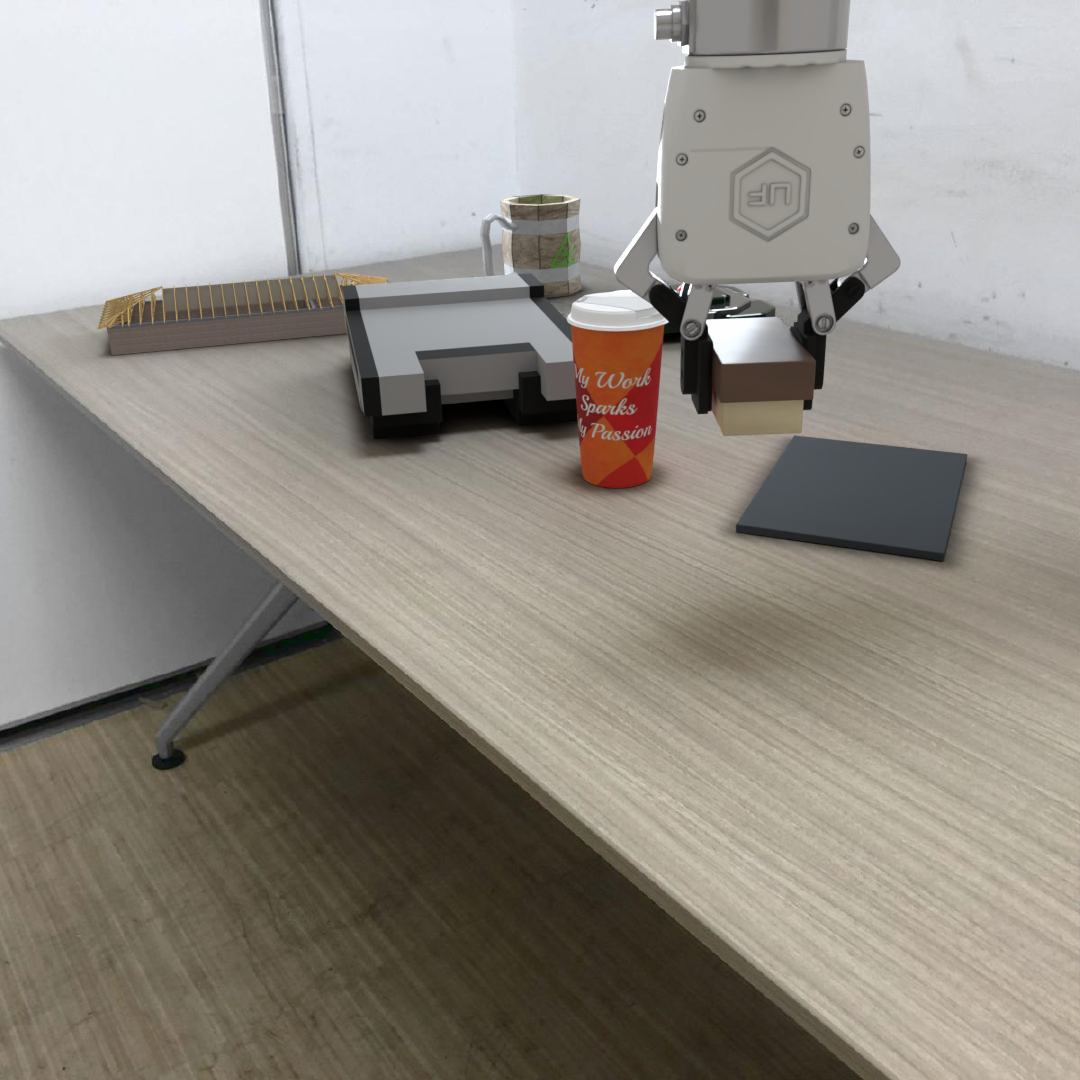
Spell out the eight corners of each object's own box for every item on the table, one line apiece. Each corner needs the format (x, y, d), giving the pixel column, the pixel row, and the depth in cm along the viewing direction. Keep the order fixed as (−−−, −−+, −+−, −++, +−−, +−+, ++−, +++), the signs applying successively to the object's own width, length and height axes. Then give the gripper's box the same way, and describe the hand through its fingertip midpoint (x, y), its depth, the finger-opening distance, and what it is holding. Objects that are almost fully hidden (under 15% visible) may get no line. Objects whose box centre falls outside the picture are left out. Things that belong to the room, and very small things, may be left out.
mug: (544, 278, 160) (542, 192, 155) (598, 288, 153) (597, 198, 148) (459, 296, 151) (454, 205, 146) (512, 308, 144) (508, 212, 139)
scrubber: (695, 388, 64) (697, 319, 62) (776, 385, 64) (779, 316, 62) (719, 441, 56) (721, 364, 54) (811, 438, 56) (816, 360, 54)
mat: (793, 441, 95) (793, 435, 95) (966, 460, 90) (967, 453, 90) (735, 531, 79) (735, 524, 78) (943, 561, 74) (944, 553, 73)
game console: (368, 458, 94) (359, 363, 91) (348, 360, 123) (341, 286, 119) (605, 435, 98) (605, 344, 94) (533, 345, 126) (531, 273, 123)
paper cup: (555, 486, 87) (551, 309, 82) (587, 454, 94) (586, 287, 88) (651, 498, 85) (654, 315, 79) (677, 464, 91) (682, 293, 85)
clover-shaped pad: (785, 333, 128) (788, 293, 127) (637, 347, 125) (637, 306, 123) (724, 301, 144) (726, 265, 142) (591, 312, 141) (591, 275, 139)
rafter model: (388, 304, 148) (384, 257, 145) (407, 329, 135) (403, 278, 132) (110, 329, 139) (101, 279, 137) (103, 357, 127) (92, 304, 124)
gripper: (588, 40, 49) (595, 434, 56) (975, 23, 49) (930, 421, 56) (581, 38, 56) (589, 390, 63) (921, 23, 55) (888, 378, 63)
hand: (750, 401), depth 60 cm, fingers closed on scrubber, 4 cm apart
